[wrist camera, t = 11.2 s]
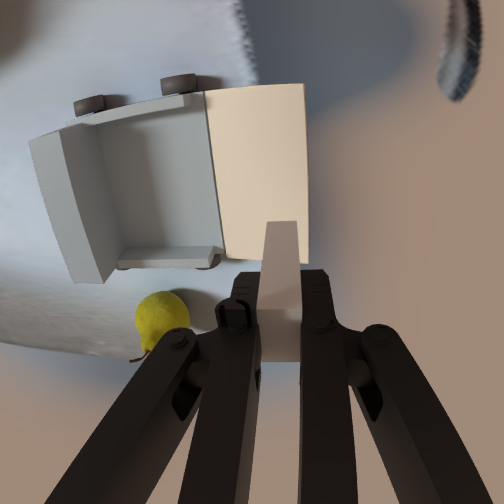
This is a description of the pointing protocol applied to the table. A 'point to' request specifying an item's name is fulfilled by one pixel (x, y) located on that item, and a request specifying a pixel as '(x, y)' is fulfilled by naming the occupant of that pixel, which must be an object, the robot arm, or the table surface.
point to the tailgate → (260, 164)
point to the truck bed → (133, 185)
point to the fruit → (159, 318)
